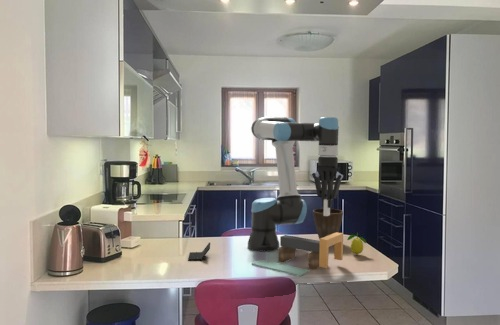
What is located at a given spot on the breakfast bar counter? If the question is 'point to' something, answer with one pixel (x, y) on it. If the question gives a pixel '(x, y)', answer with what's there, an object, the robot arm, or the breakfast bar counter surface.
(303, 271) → the mat
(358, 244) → the lemon
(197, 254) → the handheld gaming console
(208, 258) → the breakfast bar counter surface
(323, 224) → the plant pot
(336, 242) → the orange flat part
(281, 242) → the grey rectangular bar
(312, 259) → the cradle
